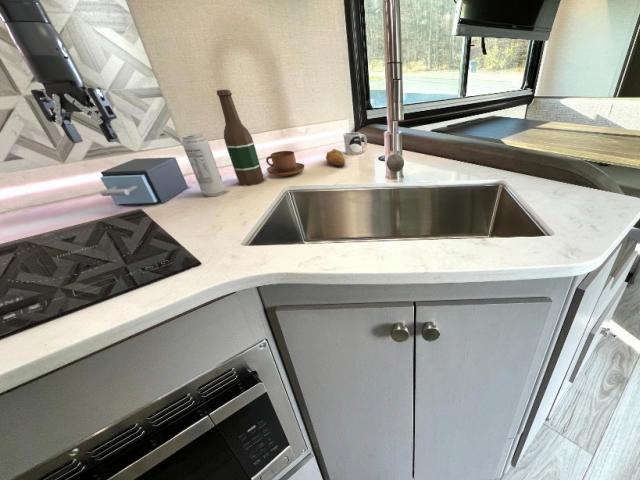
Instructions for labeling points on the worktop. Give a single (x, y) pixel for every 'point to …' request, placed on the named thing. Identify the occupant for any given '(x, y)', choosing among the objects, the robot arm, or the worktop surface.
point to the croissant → (336, 158)
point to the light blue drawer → (128, 189)
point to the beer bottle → (239, 143)
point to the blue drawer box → (154, 176)
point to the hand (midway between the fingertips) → (95, 142)
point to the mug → (354, 142)
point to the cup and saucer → (283, 164)
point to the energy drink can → (203, 164)
